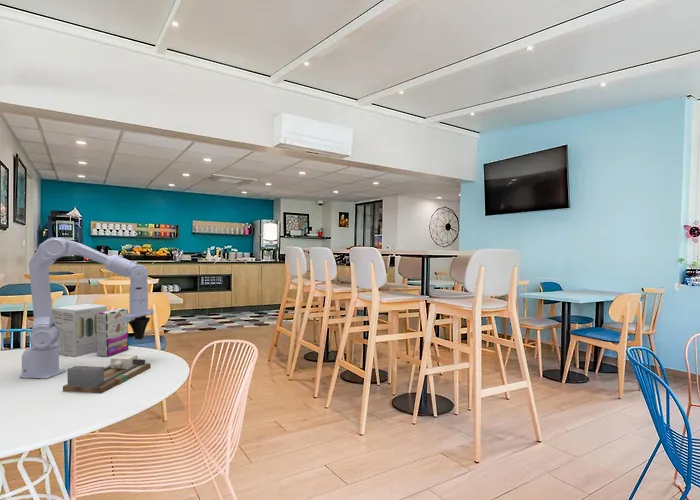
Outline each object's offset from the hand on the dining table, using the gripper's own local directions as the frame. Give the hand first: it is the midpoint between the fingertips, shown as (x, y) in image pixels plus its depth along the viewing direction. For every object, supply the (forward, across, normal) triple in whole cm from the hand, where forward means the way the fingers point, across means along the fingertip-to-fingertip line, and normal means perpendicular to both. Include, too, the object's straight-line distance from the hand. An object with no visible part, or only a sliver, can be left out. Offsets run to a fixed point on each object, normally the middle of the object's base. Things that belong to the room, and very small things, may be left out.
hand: (139, 338), depth 148 cm
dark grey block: (+7, -26, 0) cm, 27 cm away
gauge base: (+9, -15, 0) cm, 17 cm away
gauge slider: (+7, -9, -2) cm, 12 cm away
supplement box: (+9, +14, +33) cm, 37 cm away
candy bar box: (+9, +13, +19) cm, 25 cm away
